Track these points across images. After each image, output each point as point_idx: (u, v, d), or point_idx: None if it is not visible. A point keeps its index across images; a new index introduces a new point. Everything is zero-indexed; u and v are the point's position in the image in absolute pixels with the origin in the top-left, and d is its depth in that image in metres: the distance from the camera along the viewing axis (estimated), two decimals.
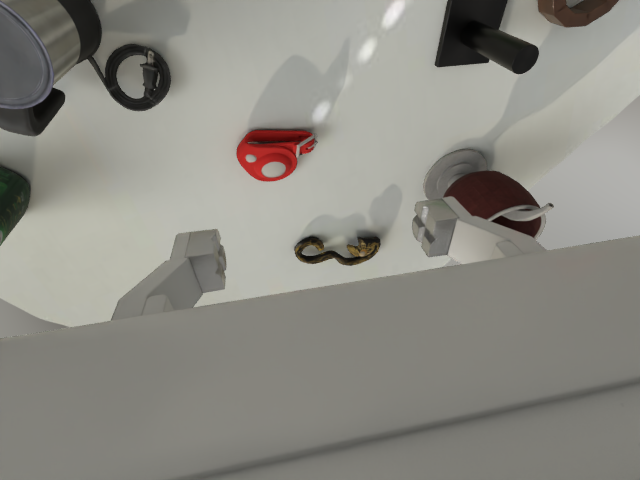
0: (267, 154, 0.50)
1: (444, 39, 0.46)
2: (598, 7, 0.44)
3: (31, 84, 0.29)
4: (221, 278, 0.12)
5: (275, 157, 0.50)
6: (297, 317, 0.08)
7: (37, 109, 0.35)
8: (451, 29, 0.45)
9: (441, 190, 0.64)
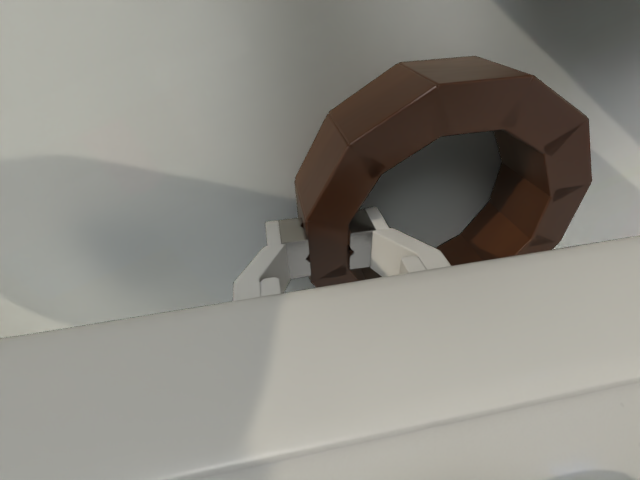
0: None
1: None
2: None
3: None
4: None
5: None
6: (297, 317, 0.08)
7: None
8: None
9: None
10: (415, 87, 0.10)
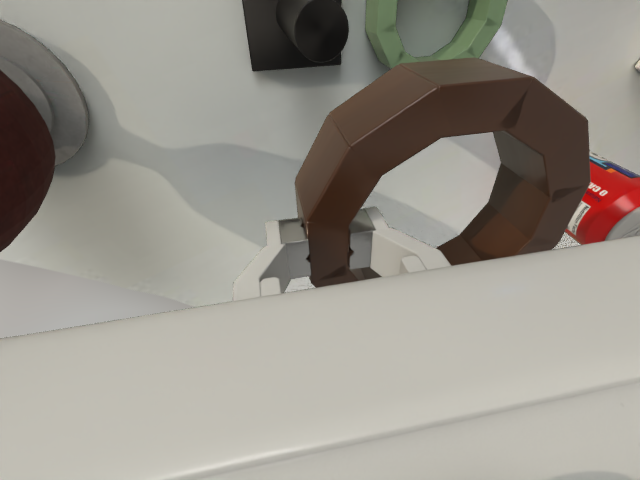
0: None
1: None
2: None
3: None
4: (309, 264, 0.12)
5: None
6: (297, 317, 0.08)
7: None
8: None
9: None
10: (416, 88, 0.10)
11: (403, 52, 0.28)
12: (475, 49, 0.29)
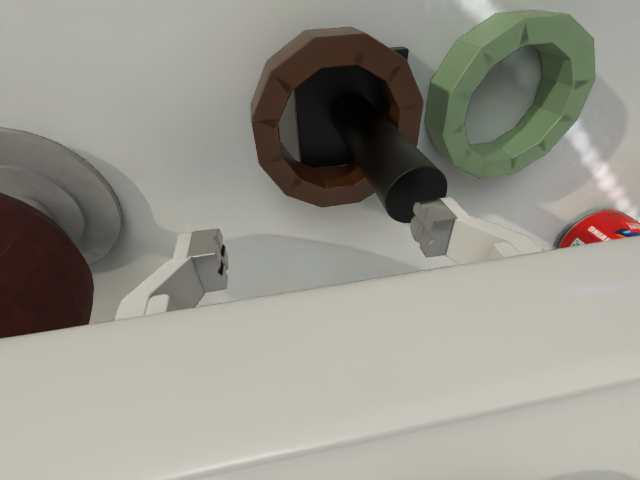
0: None
1: None
2: (290, 170, 0.23)
3: None
4: (223, 278, 0.12)
5: None
6: (297, 317, 0.08)
7: None
8: (361, 67, 0.23)
9: None
10: (304, 40, 0.19)
11: (469, 150, 0.26)
12: (546, 143, 0.27)
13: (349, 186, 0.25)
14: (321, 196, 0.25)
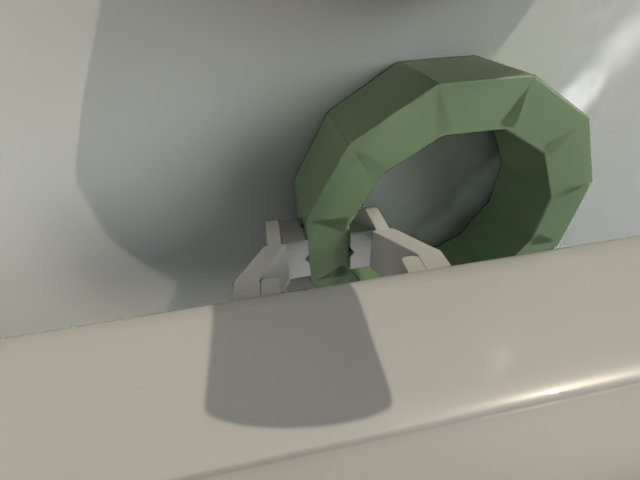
0: None
1: None
2: None
3: None
4: None
5: None
6: (297, 317, 0.08)
7: None
8: None
9: None
10: None
11: (381, 170, 0.11)
12: None
13: None
14: None
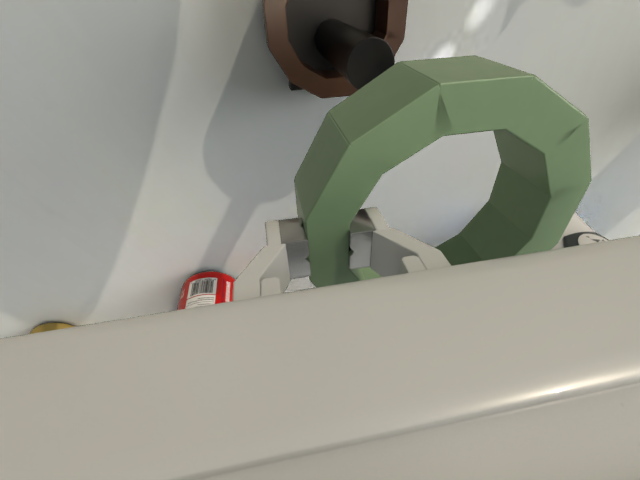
0: None
1: (372, 30, 0.30)
2: None
3: None
4: (309, 264, 0.12)
5: None
6: (297, 317, 0.08)
7: None
8: None
9: None
10: None
11: (381, 170, 0.11)
12: None
13: (286, 35, 0.26)
14: (276, 1, 0.25)
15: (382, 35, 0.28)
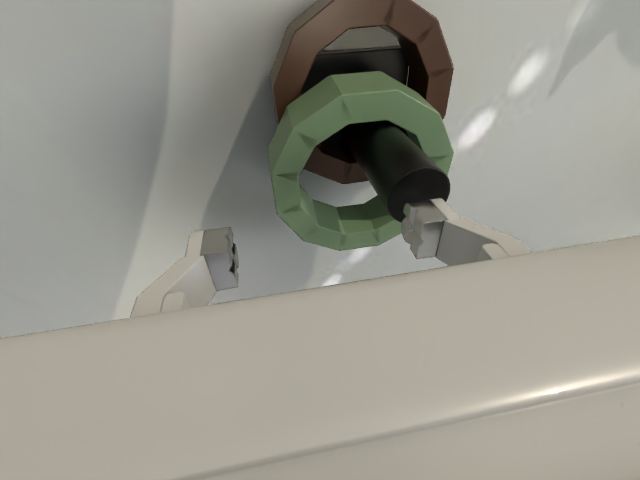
0: None
1: None
2: (329, 41, 0.18)
3: None
4: (235, 276, 0.12)
5: None
6: (297, 317, 0.08)
7: None
8: None
9: None
10: None
11: (314, 144, 0.18)
12: (315, 234, 0.23)
13: None
14: (289, 84, 0.19)
15: None
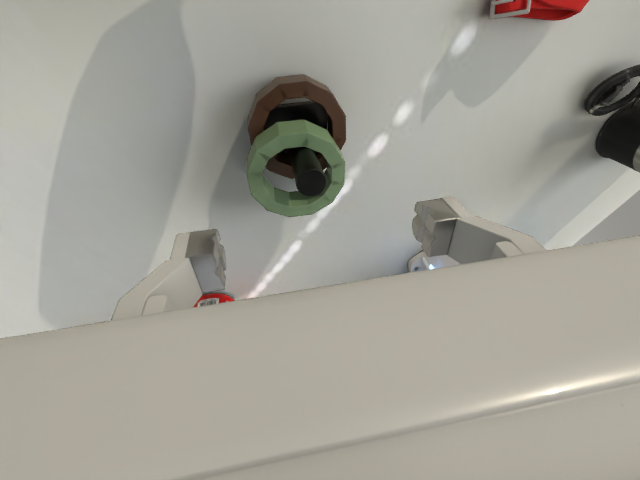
0: None
1: None
2: (275, 105, 0.36)
3: None
4: (221, 278, 0.12)
5: None
6: (297, 317, 0.08)
7: None
8: None
9: None
10: None
11: (268, 158, 0.36)
12: (274, 206, 0.41)
13: None
14: (256, 126, 0.37)
15: None
